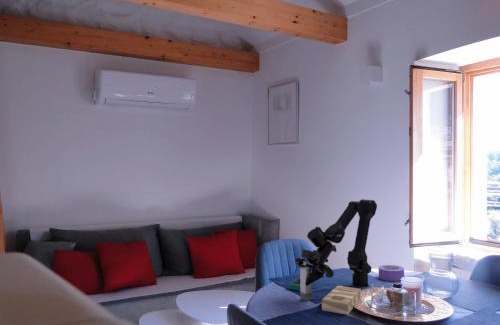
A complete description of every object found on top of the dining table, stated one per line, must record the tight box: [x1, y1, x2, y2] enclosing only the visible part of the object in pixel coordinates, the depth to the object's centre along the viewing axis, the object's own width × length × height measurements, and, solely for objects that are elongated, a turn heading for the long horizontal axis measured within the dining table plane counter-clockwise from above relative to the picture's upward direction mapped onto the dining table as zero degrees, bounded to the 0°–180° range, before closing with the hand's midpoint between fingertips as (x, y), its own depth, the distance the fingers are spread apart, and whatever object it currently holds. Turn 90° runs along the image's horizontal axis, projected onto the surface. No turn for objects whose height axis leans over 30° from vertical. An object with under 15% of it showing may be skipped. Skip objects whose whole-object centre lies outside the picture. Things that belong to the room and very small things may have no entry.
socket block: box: [321, 285, 362, 315], centre depth 168 cm, size 20×10×4 cm, turn 151°
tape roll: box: [378, 264, 405, 282], centre depth 204 cm, size 12×12×5 cm
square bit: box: [299, 267, 312, 302], centre depth 175 cm, size 3×3×13 cm
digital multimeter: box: [287, 276, 315, 291], centre depth 194 cm, size 7×15×3 cm, turn 151°
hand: (303, 284), depth 174 cm, fingers closed on square bit, 3 cm apart
